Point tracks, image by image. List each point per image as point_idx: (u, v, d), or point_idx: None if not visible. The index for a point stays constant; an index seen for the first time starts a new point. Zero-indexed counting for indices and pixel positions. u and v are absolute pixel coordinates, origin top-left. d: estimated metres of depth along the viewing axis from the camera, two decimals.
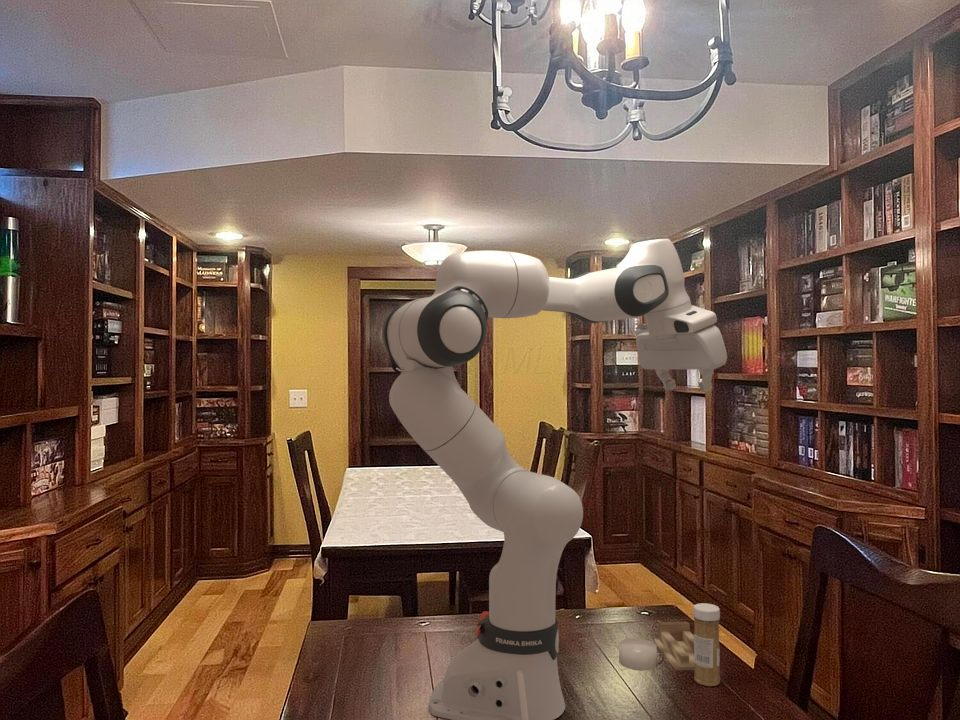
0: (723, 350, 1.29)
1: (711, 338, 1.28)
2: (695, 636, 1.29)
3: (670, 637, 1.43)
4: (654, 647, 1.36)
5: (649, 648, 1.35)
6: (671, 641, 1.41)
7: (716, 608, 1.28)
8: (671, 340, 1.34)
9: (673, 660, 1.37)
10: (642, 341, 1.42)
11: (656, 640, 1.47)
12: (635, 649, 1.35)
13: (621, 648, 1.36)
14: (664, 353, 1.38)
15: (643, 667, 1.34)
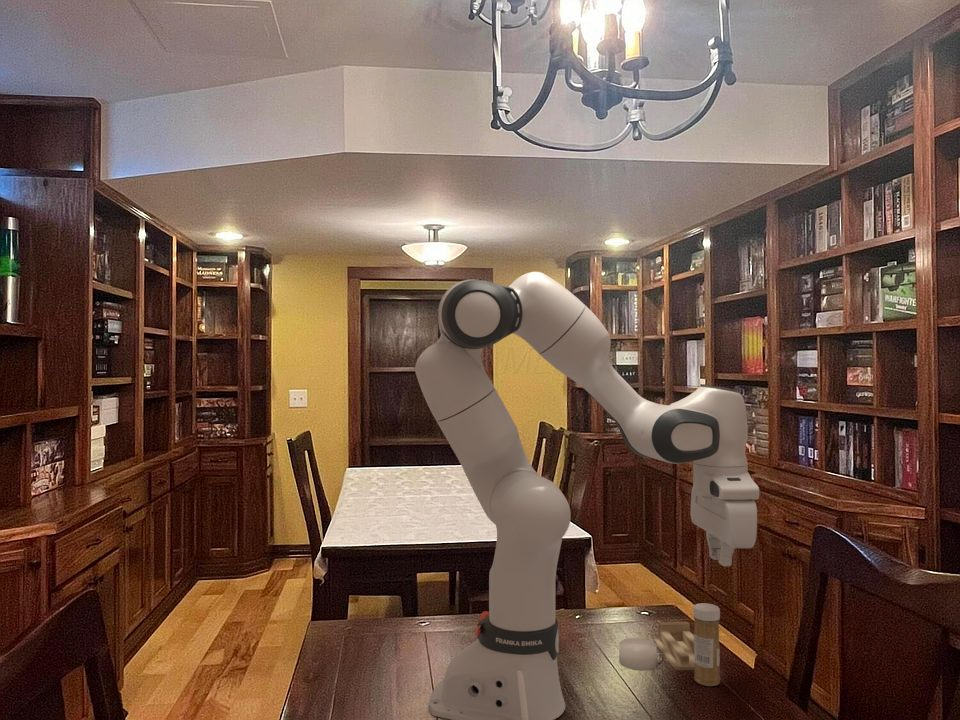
0: (752, 531, 1.13)
1: (739, 513, 1.13)
2: (695, 636, 1.29)
3: (670, 637, 1.43)
4: (654, 647, 1.36)
5: (649, 648, 1.35)
6: (671, 641, 1.41)
7: (716, 608, 1.28)
8: (709, 501, 1.21)
9: (673, 660, 1.37)
10: (695, 492, 1.30)
11: (656, 640, 1.47)
12: (635, 649, 1.35)
13: (621, 648, 1.36)
14: (705, 512, 1.25)
15: (643, 667, 1.34)
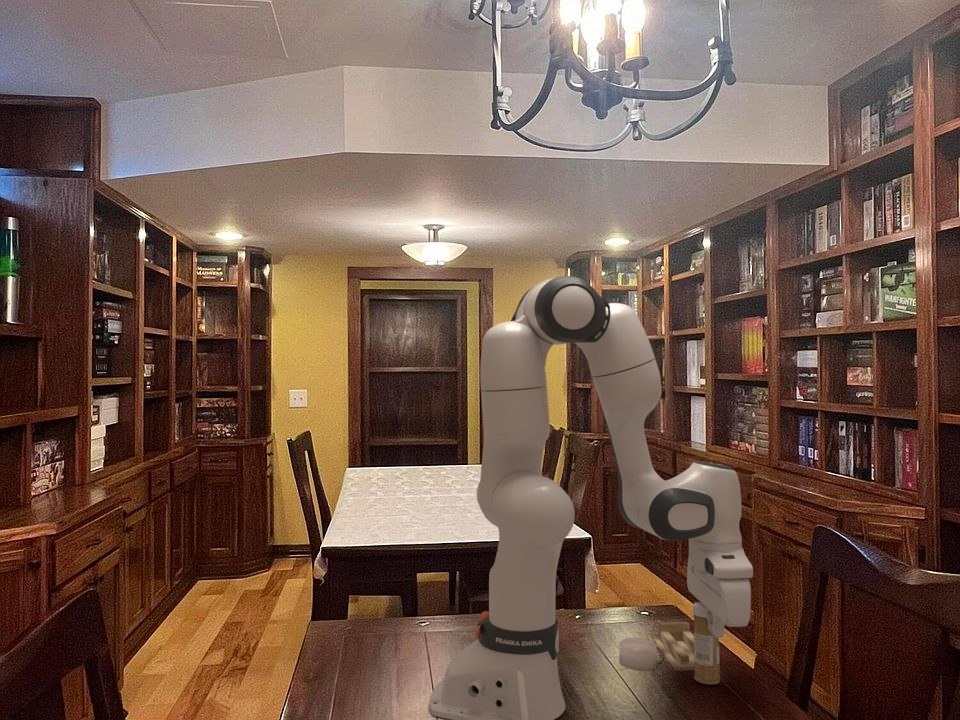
0: (746, 610, 1.15)
1: (733, 593, 1.16)
2: (695, 634, 1.29)
3: (670, 637, 1.43)
4: (654, 647, 1.36)
5: (649, 648, 1.35)
6: (671, 641, 1.41)
7: None
8: (704, 575, 1.23)
9: (673, 660, 1.37)
10: None
11: (656, 640, 1.47)
12: (635, 649, 1.35)
13: (621, 648, 1.36)
14: (701, 584, 1.27)
15: (643, 667, 1.34)
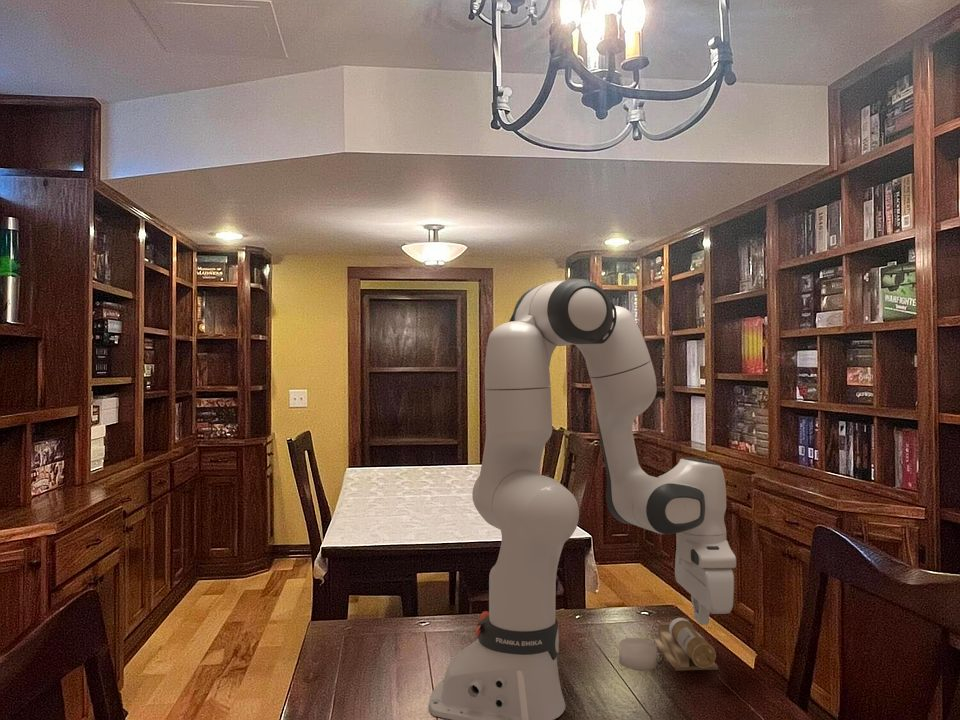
0: (729, 598, 1.22)
1: (717, 582, 1.22)
2: (677, 641, 1.38)
3: (670, 637, 1.43)
4: (654, 647, 1.36)
5: (649, 648, 1.36)
6: (671, 641, 1.41)
7: None
8: (690, 566, 1.30)
9: (673, 660, 1.37)
10: None
11: (656, 640, 1.47)
12: (636, 649, 1.35)
13: (621, 648, 1.36)
14: (688, 575, 1.34)
15: (643, 667, 1.34)
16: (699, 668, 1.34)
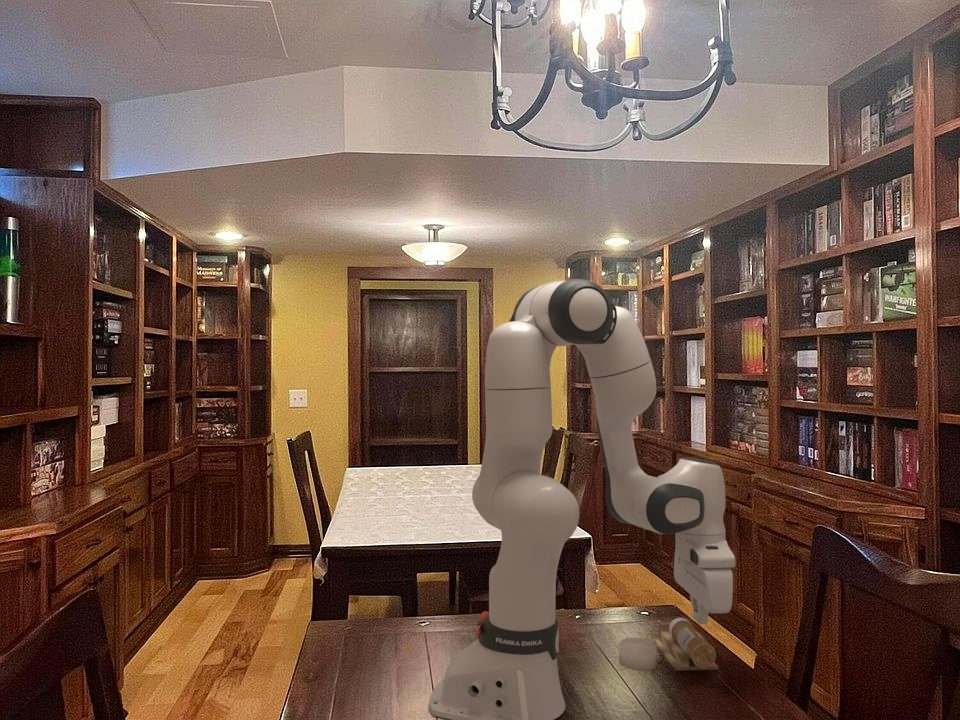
0: (728, 598, 1.22)
1: (716, 581, 1.23)
2: (677, 641, 1.38)
3: (670, 637, 1.43)
4: (654, 647, 1.36)
5: (649, 648, 1.36)
6: (671, 641, 1.41)
7: None
8: (689, 565, 1.30)
9: (673, 660, 1.37)
10: None
11: (656, 640, 1.47)
12: (636, 649, 1.35)
13: (621, 648, 1.36)
14: (687, 574, 1.34)
15: (644, 667, 1.34)
16: (699, 668, 1.34)
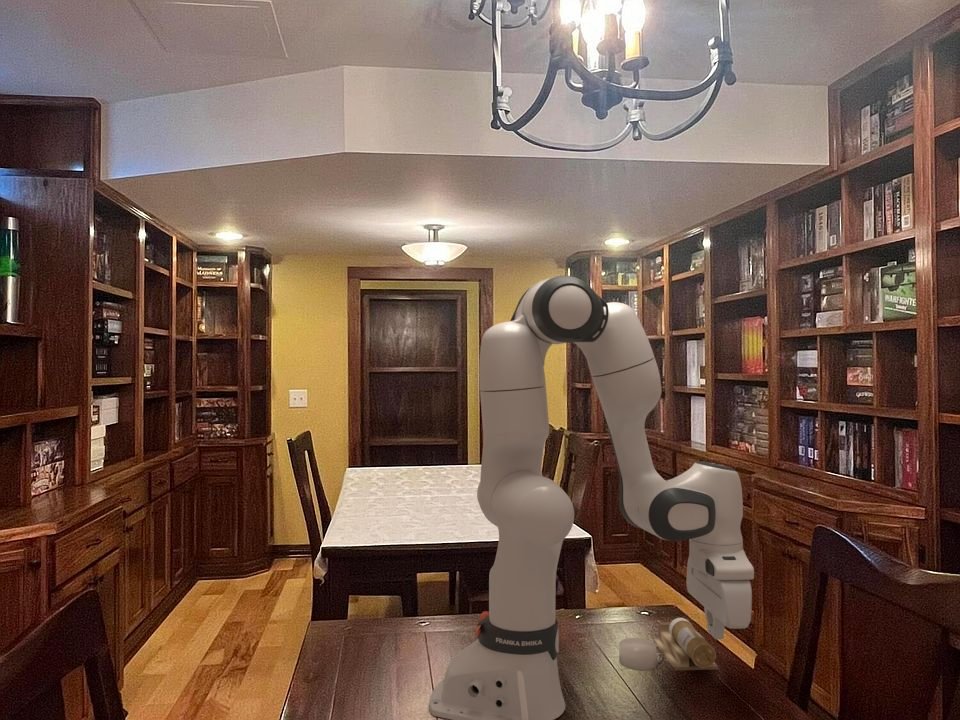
0: (746, 612, 1.15)
1: (734, 594, 1.15)
2: (677, 641, 1.38)
3: (670, 637, 1.43)
4: (654, 646, 1.36)
5: (649, 648, 1.36)
6: (671, 641, 1.41)
7: None
8: (704, 577, 1.23)
9: (673, 660, 1.37)
10: None
11: (656, 640, 1.47)
12: (636, 649, 1.35)
13: (621, 648, 1.36)
14: (701, 586, 1.26)
15: (644, 667, 1.34)
16: (699, 668, 1.34)
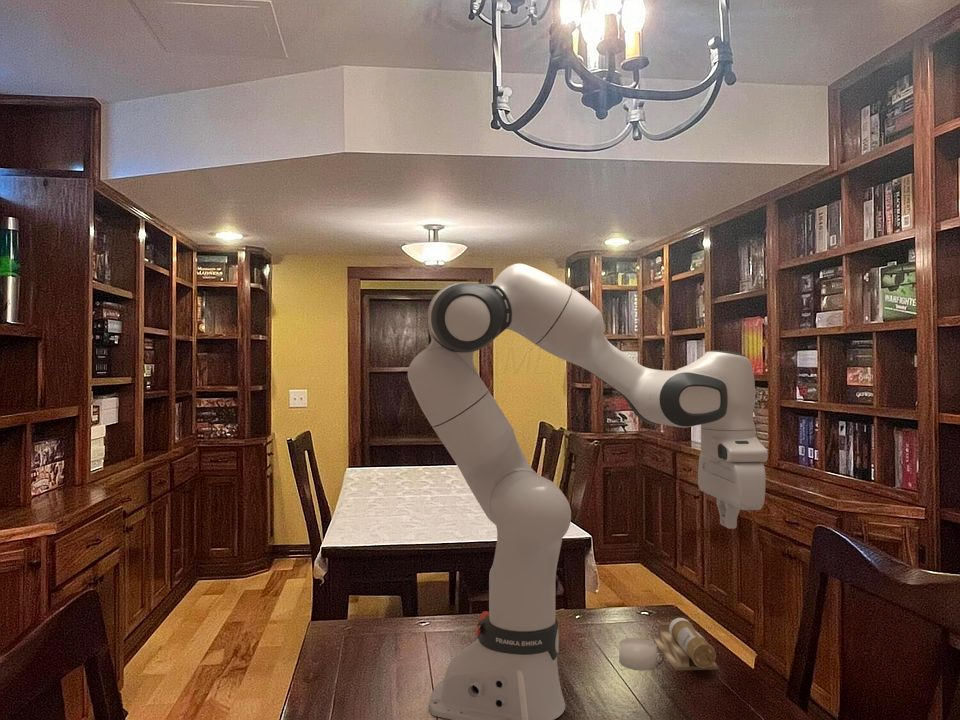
0: (760, 493, 1.13)
1: (748, 475, 1.13)
2: (677, 641, 1.38)
3: (670, 637, 1.43)
4: (654, 646, 1.36)
5: (649, 647, 1.36)
6: (671, 641, 1.41)
7: None
8: (717, 465, 1.21)
9: (673, 660, 1.37)
10: (702, 459, 1.30)
11: (656, 640, 1.47)
12: (636, 649, 1.35)
13: (622, 648, 1.36)
14: (713, 477, 1.25)
15: (644, 667, 1.34)
16: (699, 668, 1.34)
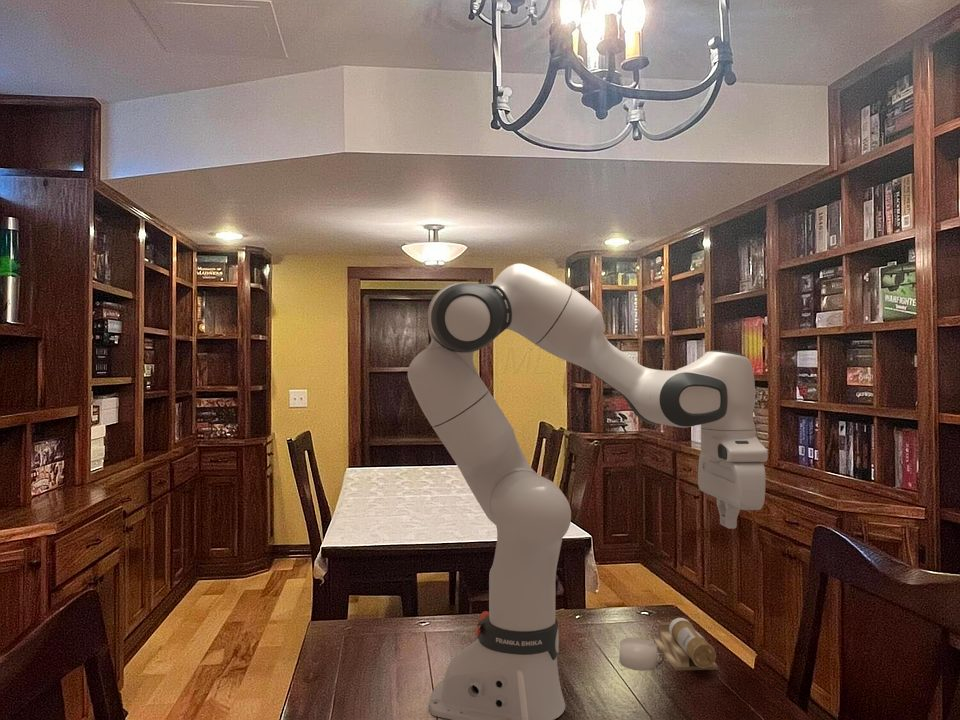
0: (760, 493, 1.13)
1: (748, 475, 1.13)
2: (677, 641, 1.38)
3: (670, 637, 1.43)
4: (655, 646, 1.36)
5: (650, 648, 1.36)
6: (671, 641, 1.41)
7: None
8: (717, 465, 1.21)
9: (673, 660, 1.37)
10: (702, 459, 1.30)
11: (656, 640, 1.47)
12: (637, 649, 1.35)
13: (622, 648, 1.36)
14: (713, 477, 1.25)
15: (645, 667, 1.34)
16: (699, 668, 1.34)
